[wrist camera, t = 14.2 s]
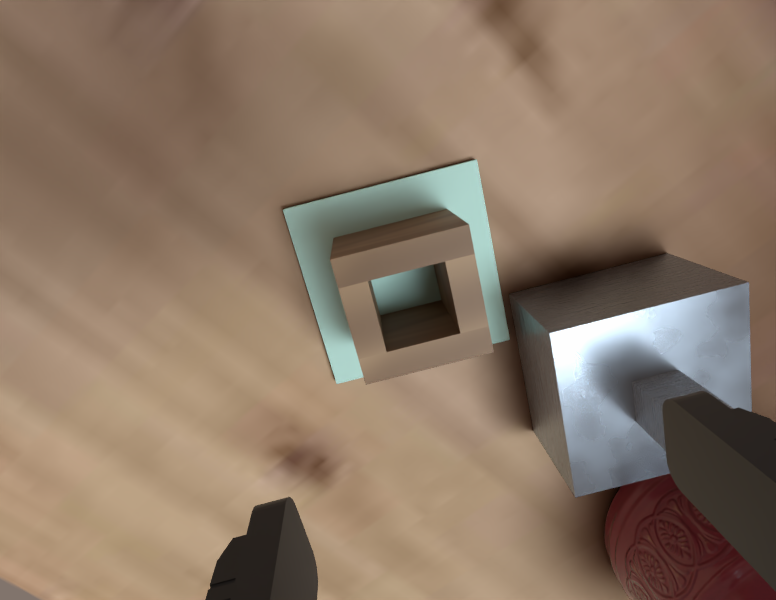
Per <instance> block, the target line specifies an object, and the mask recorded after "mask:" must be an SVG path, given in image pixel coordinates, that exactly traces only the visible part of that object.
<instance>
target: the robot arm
mask: <svg viewBox="0 0 776 600" xmlns="http://www.w3.org/2000/svg"><path fill="white" fill-rule="evenodd" d="M662 412H663V424H664V436H665V448H666V460H667V465H668V469H669V471H670V474H671V476H672V478H673V480H674V482H675V484H676V485H677V487H678V488H679V490H680V491H681V492H682V493H683V494H684V495H685V496H686V497H687V498H688V499H689V500H690V502H691V503H692V504H693V505H694V506H695V507H696V508H697V509H698V510H699V511H700V512H701V513H702V514H703V515H704V516H705V517H706V518H707V520H708V521H709V522H710V523H711V524H712V525H713V526H714V527H715V528H716V529H717V530H718V531H719V532H720V533H721V534H722V535H723V536H724V538H725V539H726V540H727V541H728V542H729V543H730V544H731V545H732V546H733V547H734V548H735V549H736V550H737V551H738V552H739V553H740V554H741V556H742V557H743V558H744V559H745V560H746V561H747V562H748V563H749V564H750V565H751V566H752V567H753V568H754V569H755V570H756V571H757V572H758V573H759V575H760V576H761V577H762V578H763V579H764V580H765V581H766V582H767V583H768V584H769V585H770V586H771V587H772V588H773V589H774V590H775V591H776V423H775V422H774V421H772V420H771V419H769V418H767V417H764V416H761V415H758V414H756V413H753V412H750V411H747V410H745V409H742V408H739V407H738V408H734V409H730V408H729V407H728V406H726V405H725V404H723V403H722V402H721V401H719V400H718V399H716V398H715V397H713V396H712V395H711V394H709V393H707V392H705V391H698V392H694V393H690V394H686V395H682V396H678V397H675V398H671V399H667V400H665V401H664V403H663V407H662ZM317 590H318V576H317V567H316V561H315V557H314V554H313V551H312V548H311V545H310V543H309V540H308V537H307V535H306V532H305V529H304V527H303V524H302V521H301V519H300V516H299V513H298V511H297V508H296V505H295V503H294V501H293V499H292V498H291V497H287V498H284V499H280V500H276V501H272V502H268V503H265V504H261V505H257V506H255V507H254V508H253V511H252V514H251V518H250V523H249V527H248V531H247V535H243V536H240V537H236V538H233V539H232V541H231V542H230V543H229V545H228V546H227V548H226V549H225V551H224V552H223V553H222V555H221V556H220V558H219V559H218V560H217V563H216V566H215V570H214V573H213V576H212V580H211V583H210V589H209V590H208V593H207V596H206V600H317Z"/></svg>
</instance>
